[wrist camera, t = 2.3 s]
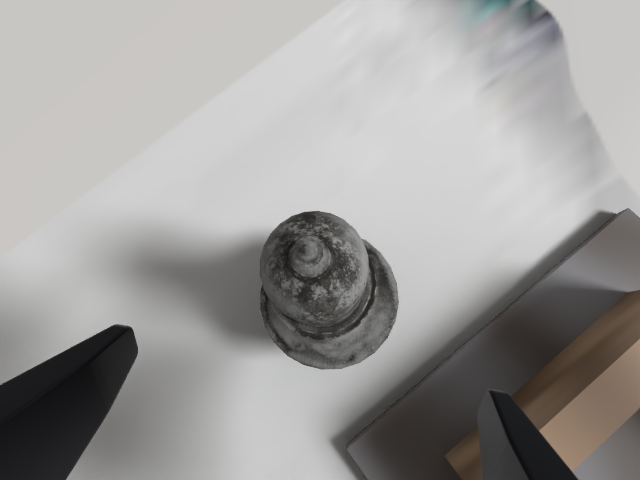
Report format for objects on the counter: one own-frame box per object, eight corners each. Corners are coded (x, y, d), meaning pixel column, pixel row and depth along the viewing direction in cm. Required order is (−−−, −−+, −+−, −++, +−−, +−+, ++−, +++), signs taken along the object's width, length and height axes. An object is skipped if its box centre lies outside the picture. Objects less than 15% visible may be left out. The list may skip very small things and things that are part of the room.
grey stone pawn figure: (269, 358, 19) (140, 383, 7) (282, 245, 20) (194, 117, 9) (387, 370, 18) (452, 419, 7) (392, 253, 20) (452, 127, 8)
